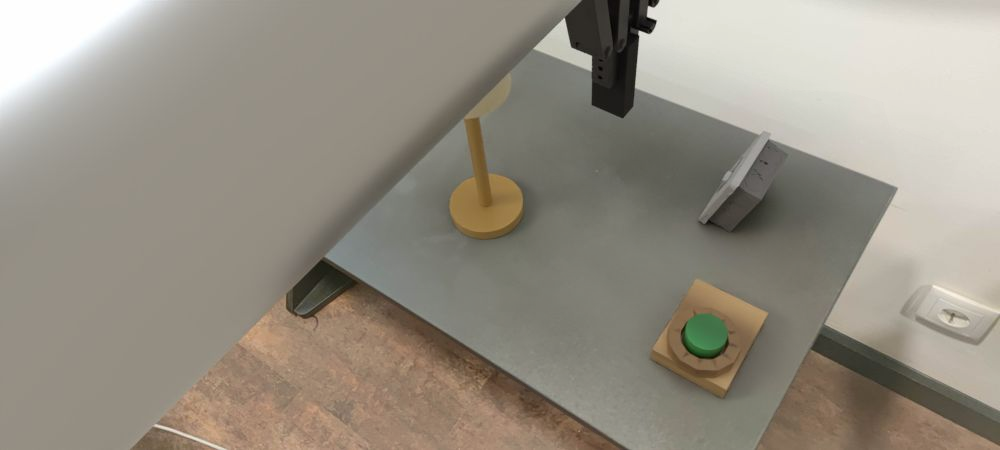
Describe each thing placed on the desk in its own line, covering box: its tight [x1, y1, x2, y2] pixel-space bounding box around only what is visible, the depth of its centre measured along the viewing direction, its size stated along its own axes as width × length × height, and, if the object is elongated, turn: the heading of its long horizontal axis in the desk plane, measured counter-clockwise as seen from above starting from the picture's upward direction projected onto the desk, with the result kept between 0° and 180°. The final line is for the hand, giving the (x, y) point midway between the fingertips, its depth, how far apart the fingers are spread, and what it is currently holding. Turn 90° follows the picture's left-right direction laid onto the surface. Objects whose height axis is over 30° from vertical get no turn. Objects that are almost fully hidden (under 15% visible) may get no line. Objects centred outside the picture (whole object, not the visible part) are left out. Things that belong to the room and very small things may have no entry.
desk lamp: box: [448, 71, 525, 240], centre depth 75 cm, size 9×9×26 cm
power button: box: [684, 314, 728, 358], centre depth 68 cm, size 4×4×2 cm
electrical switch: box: [698, 130, 789, 233], centre depth 79 cm, size 9×5×9 cm, turn 145°
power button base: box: [650, 278, 769, 399], centre depth 71 cm, size 10×8×4 cm
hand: (612, 105), depth 52 cm, fingers closed
